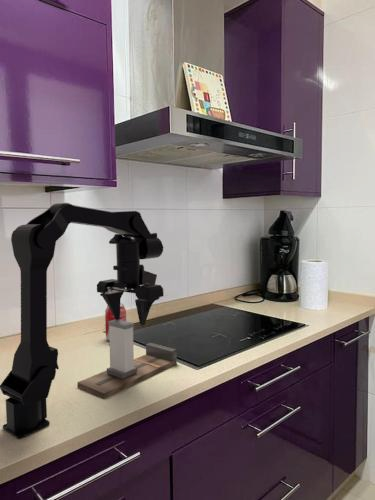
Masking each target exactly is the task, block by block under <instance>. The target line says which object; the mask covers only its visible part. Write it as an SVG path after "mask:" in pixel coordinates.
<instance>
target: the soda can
mask: <svg viewBox="0 0 375 500" xmlns="http://www.w3.org/2000/svg"><path fill="white" fill-rule="evenodd" d="M104 313H105V314H104V315H105V316H104V317H105V318H104V321H105V323H104V326H105V328H104V329H105V338H106V340H108V341H109V342H110V340H109V326H108V322H109V321H112V320H116V319H115V318H114V316H113V314H112V312H111V310H110V308H109V306H108V305H107V304H106V308H105V310H104ZM119 320H123V321H127V310H126V308H125V304H124V303H121V302H120V319H119Z"/></svg>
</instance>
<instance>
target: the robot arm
mask: <svg viewBox="0 0 375 500" xmlns="http://www.w3.org/2000/svg"><path fill="white" fill-rule="evenodd" d="M70 224H76V225H84V226H90V227H91V226H92V227H99V228H103V229H105V230H107V231H109V232H111V233H113V234H114V233H115V234H114V235H113V237H112V238H110V240H109V241H108V243H109V244H110V245H111V244H112V245H115V249H116V250H115V251H116V253H115V254H116V265H113V267H112V268H113V271H116V279H114V278H111V279H105V280H104V279H103V280H100V281H98V283H97V284H96V293H100V294H99V295H100V297H102V298H103V300H104V301H105V303H106V306H107V305H108V306H109V308H110V310H111V312H112V314H113V316H114V318H115V319H116V320H119V319H120V303H121V298H122V296H123V295H124V293H130V294H135V297H136V298H137V299H135V300H134V302H135V307H136V312H137V316H138V321H139V324H140V326H145V325H146V322H147V318H148V316H149V313H150V310H151V308H152V305H153V304H154V302H155V301H158V300H160V298H162V297H164V288H163V286H162V285H161V284H156V281H157V278H158V274H156V273H153V272H150V271H147V270H145V266H144V264H141V260H148V259H156V258H160V257H161V256H162V254H163V252H164V245H163V242H162V240H161V239H160V238H159V237H158V233H157V232H150V230H149V228H148V226H147V224H146V223H145V221H144V219H143V217H142V215H141V212H139V211H137V210H124V211H120V210H119V211H108V210H103V209H98V208H94V207H93V208H91V207H87V206H82V205H81V206H80V205H76V204H71V203H70V202H60V203H54V204H52V205H51V206H50V207H48V209H46V210H45V211H44V212H42V213H40V214H39V215H37V216H35V217H34V218H32V219H31V220H29V221H28V222H27V223H26V224H21V225H19V226H17V227H16V228H15V229H14V230H13V231H12V234H11V238H10V239H11V241H10V242H11V247H12V251H13V256H14V259H15V261H16V263H17V265H18V267H19V271H20V342H19V344H18V347H17V348H16V350H15V352H14V355H13V360H12V365H11V366H12V367H11V370H10V372H9V373H8V374H7V376H6V377H5V378H4V380H3V381H2V382H1V383H0V391H1V393H2V395H4V396H7V397H8V398H5V413H6V414H5V415H6V417H5V418H6V423H5V424H3V425H2V429H4V430H5V431H6V432H7V433H10V434H11V435H13V436H14V437H16V439H22V438H24V437H26V436H29V435H30V434H33V433H35V432H36V431H39V430H41V429H43V428H45V427H48V426H49V425H50V421H49V420H48V419H47V418H48V417H47V416H48V409H47V399H48V398H49V395H50V390H51V386H52V382H53V380H55V379H56V374H57V370H59V369H60V368H59V367H60V366H59V364H58V358H59V351H58V348H56V347H53V346H50V344H49V343H48V321H47V320H48V319H47V318H48V314H47V313H48V307H47V306H48V305H47V304H48V302H47V301H48V297H47V295H48V290H47V289H48V286H47V285H48V283H47V282H48V280H47V279H48V275H47V274H48V269H49V266H50V264H51V263H52V260H53V258H54V256H55V249H56V245H57V244H56V243H57V241H58V240H59V239H60V238H61V237H62V236H64V234H65V232H66V230H67V229H68V226H69V225H70Z"/></svg>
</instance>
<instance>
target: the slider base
mask: <svg viewBox="0 0 375 500" xmlns="http://www.w3.org/2000/svg"><path fill="white" fill-rule="evenodd" d="M177 355H178V354H177V349H176V348H173V347H168V346H164V345H161V344H157V343H154V342H149V343H146V344H145V354H144V355H141V356H138V357H136V358H134V367H136V368H137V373H135V374H133V375H130V376H128V377H126V378H124V379H122V378H119V377H116V376H113V375H111V374H108V373H107V369H106V370H104V371H102V372H99V373H97V374H94V375H92V376H90V377H87V378H85V379H82V380H80V381H77V388H79V389H81V390H83V391H85V392H89V393H91V394H93V395H96V396H97V397H100V398H101V399H102V398H103V399H107V398H109V397H110V396H113V395H114V394H116V393H119V392H121V391H122V390H126V389H127V388H130V387H131V386H133V385H135V384H137V383H140V382H142V381H144V380H146V379H148V378H150V377H152V376H154V375H157V374H158V373H159V374H160V373H161V372H162V371H165V370H168V369H169V368H171V367H173V366H175V365H177V364H178V361H177V359H178V357H177Z"/></svg>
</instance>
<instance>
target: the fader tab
mask: <svg viewBox="0 0 375 500" xmlns="http://www.w3.org/2000/svg"><path fill="white" fill-rule="evenodd" d="M108 326H109V340H110V341H109V340H108V341H109V367H107V368H106V370H107V373H108V374H111V375H113V376H116V377H119V378H122V379H124V378H126V377H128V376H130V375H133V374H135V373H137V368H136V367H134V359H135V358H134V355H135V354H134V327H135V322H131V321H127V320H126V321H123V320H112V321H109V322H108Z"/></svg>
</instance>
